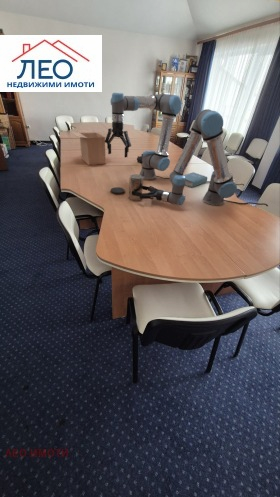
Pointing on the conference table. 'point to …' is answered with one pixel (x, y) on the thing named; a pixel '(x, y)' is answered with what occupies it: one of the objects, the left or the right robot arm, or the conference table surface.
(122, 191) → the lid
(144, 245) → the conference table surface
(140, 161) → the laser sight
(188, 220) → the conference table surface
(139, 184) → the jar
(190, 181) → the book
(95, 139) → the box
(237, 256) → the conference table surface
